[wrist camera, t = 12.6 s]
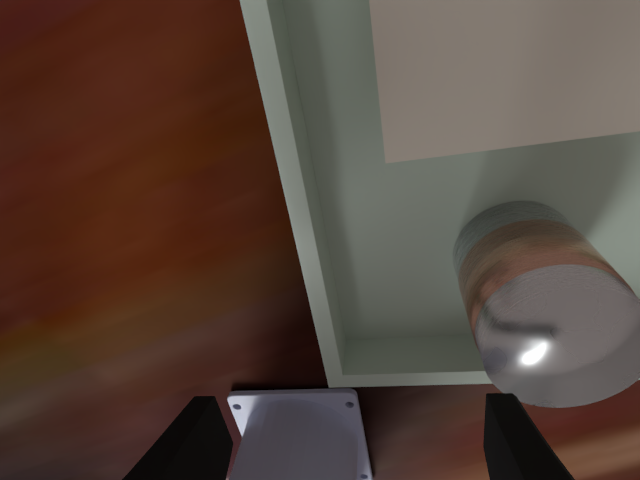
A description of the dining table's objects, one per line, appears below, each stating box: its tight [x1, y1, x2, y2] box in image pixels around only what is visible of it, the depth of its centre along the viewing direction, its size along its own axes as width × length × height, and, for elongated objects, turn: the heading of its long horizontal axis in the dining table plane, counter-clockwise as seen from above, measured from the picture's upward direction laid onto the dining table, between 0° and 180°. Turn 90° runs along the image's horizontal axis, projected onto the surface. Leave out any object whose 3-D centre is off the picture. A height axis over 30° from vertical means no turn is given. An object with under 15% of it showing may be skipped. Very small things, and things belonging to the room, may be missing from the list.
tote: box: [240, 0, 640, 388], centre depth 15 cm, size 20×18×3 cm
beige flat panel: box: [369, 0, 640, 163], centre depth 12 cm, size 6×10×4 cm, turn 100°
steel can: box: [453, 201, 640, 408], centre depth 15 cm, size 5×5×6 cm
